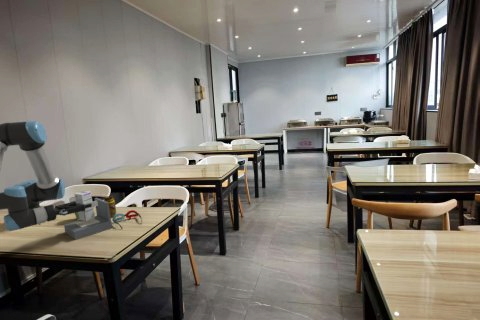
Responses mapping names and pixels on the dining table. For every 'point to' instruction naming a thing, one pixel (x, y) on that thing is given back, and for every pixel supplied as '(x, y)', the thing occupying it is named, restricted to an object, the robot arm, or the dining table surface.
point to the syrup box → (82, 199)
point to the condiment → (111, 205)
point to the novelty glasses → (126, 216)
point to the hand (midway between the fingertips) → (94, 201)
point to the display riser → (91, 222)
